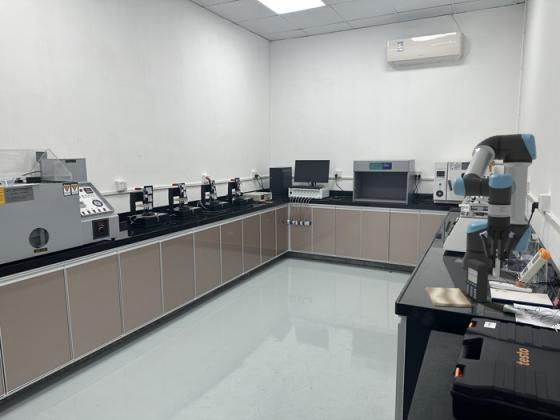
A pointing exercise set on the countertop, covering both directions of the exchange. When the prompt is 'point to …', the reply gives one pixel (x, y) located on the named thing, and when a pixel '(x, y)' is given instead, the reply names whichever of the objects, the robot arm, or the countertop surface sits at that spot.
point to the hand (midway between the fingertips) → (496, 276)
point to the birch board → (447, 297)
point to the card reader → (477, 280)
